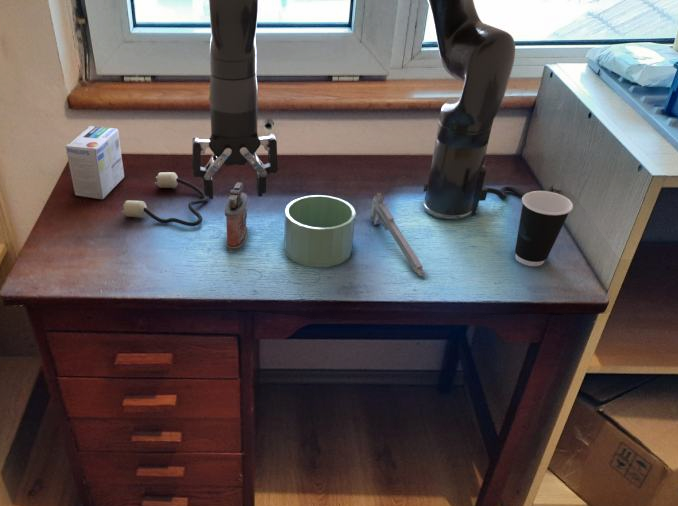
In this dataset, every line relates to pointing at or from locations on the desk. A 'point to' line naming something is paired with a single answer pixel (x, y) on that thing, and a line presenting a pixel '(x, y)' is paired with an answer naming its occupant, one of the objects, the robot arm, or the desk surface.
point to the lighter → (236, 219)
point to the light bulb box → (95, 162)
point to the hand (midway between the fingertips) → (235, 196)
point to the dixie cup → (540, 225)
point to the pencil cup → (319, 230)
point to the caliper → (394, 231)
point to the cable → (164, 182)
